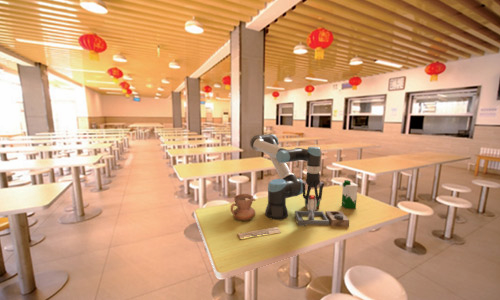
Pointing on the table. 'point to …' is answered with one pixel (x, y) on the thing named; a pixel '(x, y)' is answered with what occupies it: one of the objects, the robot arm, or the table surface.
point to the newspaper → (259, 232)
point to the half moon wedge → (316, 204)
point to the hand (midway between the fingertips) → (311, 208)
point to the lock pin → (311, 207)
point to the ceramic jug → (243, 207)
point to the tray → (310, 222)
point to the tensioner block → (337, 218)
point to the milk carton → (349, 195)
